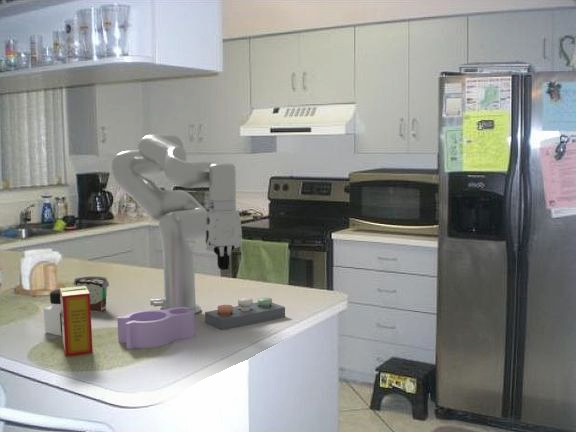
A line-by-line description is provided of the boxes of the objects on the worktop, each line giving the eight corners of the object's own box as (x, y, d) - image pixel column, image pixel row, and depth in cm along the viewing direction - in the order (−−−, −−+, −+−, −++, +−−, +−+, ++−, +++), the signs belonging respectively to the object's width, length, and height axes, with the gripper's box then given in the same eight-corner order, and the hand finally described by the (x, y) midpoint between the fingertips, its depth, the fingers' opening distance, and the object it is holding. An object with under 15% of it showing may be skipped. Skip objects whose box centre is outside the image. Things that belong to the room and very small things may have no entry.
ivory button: (243, 317, 195) (242, 302, 194) (235, 314, 198) (235, 299, 198) (255, 314, 197) (255, 300, 197) (247, 311, 201) (247, 297, 200)
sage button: (263, 316, 199) (262, 301, 198) (255, 313, 203) (254, 299, 202) (275, 314, 202) (274, 299, 201) (266, 311, 205) (266, 296, 205)
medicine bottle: (61, 336, 183) (59, 294, 181) (44, 332, 187) (42, 291, 185) (81, 330, 189) (79, 289, 187) (65, 326, 193) (63, 286, 191)
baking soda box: (92, 353, 169) (89, 291, 167) (65, 356, 166) (62, 294, 164) (88, 342, 177) (85, 284, 175) (62, 345, 175) (59, 286, 173)
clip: (182, 327, 191) (182, 304, 190) (201, 338, 180) (200, 313, 180) (114, 339, 180) (113, 315, 179) (130, 352, 170) (129, 326, 169)
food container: (118, 308, 212) (116, 277, 211) (105, 313, 207) (104, 281, 205) (88, 304, 217) (86, 274, 216) (75, 309, 212) (73, 278, 211)
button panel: (222, 329, 188) (222, 319, 187) (205, 322, 196) (204, 312, 195) (285, 316, 200) (285, 307, 200) (266, 309, 208) (266, 300, 208)
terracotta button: (222, 324, 191) (222, 309, 190) (215, 321, 194) (214, 306, 194) (235, 322, 193) (235, 307, 193) (228, 318, 197) (227, 304, 196)
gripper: (206, 209, 182) (207, 274, 185) (251, 205, 191) (252, 267, 194) (193, 206, 188) (194, 269, 191) (238, 203, 197) (238, 263, 200)
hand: (223, 268), depth 192 cm, fingers closed
